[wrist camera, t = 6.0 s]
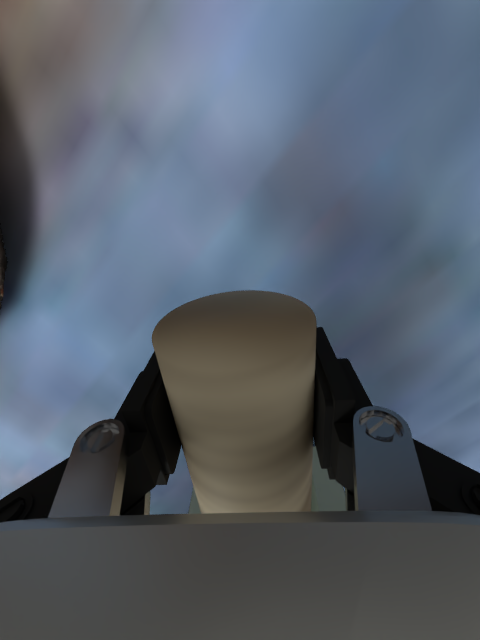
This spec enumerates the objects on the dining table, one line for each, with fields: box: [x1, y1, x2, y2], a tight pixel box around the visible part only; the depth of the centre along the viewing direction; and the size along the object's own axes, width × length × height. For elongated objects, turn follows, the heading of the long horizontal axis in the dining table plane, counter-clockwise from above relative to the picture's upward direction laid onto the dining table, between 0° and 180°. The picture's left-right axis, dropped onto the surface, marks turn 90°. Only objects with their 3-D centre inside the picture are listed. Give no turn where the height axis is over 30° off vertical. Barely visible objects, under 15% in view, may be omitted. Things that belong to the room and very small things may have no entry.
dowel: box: [152, 290, 316, 514], centre depth 12 cm, size 14×5×5 cm, turn 6°
